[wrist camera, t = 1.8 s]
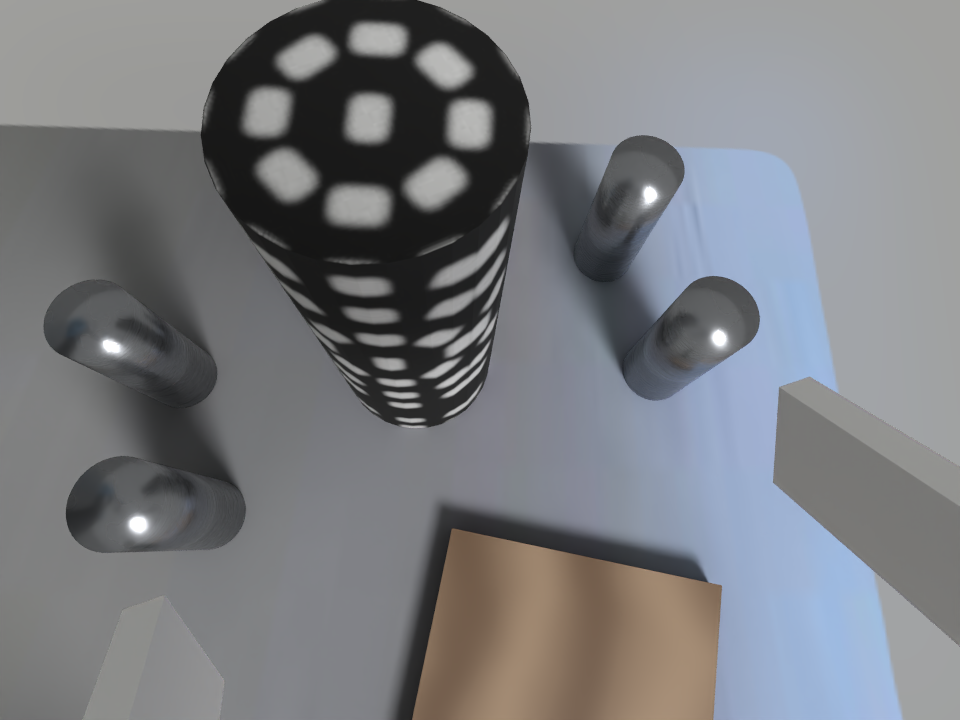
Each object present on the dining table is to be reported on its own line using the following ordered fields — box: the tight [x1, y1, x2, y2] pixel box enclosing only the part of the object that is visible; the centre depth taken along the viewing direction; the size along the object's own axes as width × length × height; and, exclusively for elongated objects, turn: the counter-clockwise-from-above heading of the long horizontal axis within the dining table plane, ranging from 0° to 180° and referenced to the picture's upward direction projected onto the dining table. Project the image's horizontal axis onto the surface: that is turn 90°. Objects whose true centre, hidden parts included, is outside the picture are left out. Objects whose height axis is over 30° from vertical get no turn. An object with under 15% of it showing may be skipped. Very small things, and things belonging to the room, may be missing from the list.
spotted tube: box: [201, 0, 531, 428], centre depth 24 cm, size 8×8×20 cm
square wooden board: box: [412, 528, 722, 720], centre depth 28 cm, size 14×14×2 cm
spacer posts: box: [44, 135, 760, 553], centre depth 29 cm, size 30×24×9 cm
